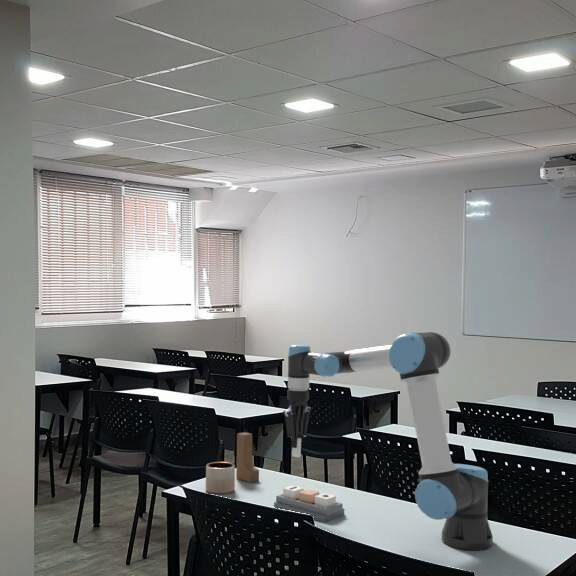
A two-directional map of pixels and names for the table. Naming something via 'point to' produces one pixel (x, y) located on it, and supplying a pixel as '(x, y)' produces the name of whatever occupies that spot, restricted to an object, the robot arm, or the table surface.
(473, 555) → the table surface
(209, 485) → the planter
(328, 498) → the dot key
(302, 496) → the blank key
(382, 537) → the table surface
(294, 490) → the bar key
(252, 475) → the wooden block
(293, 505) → the keypad
